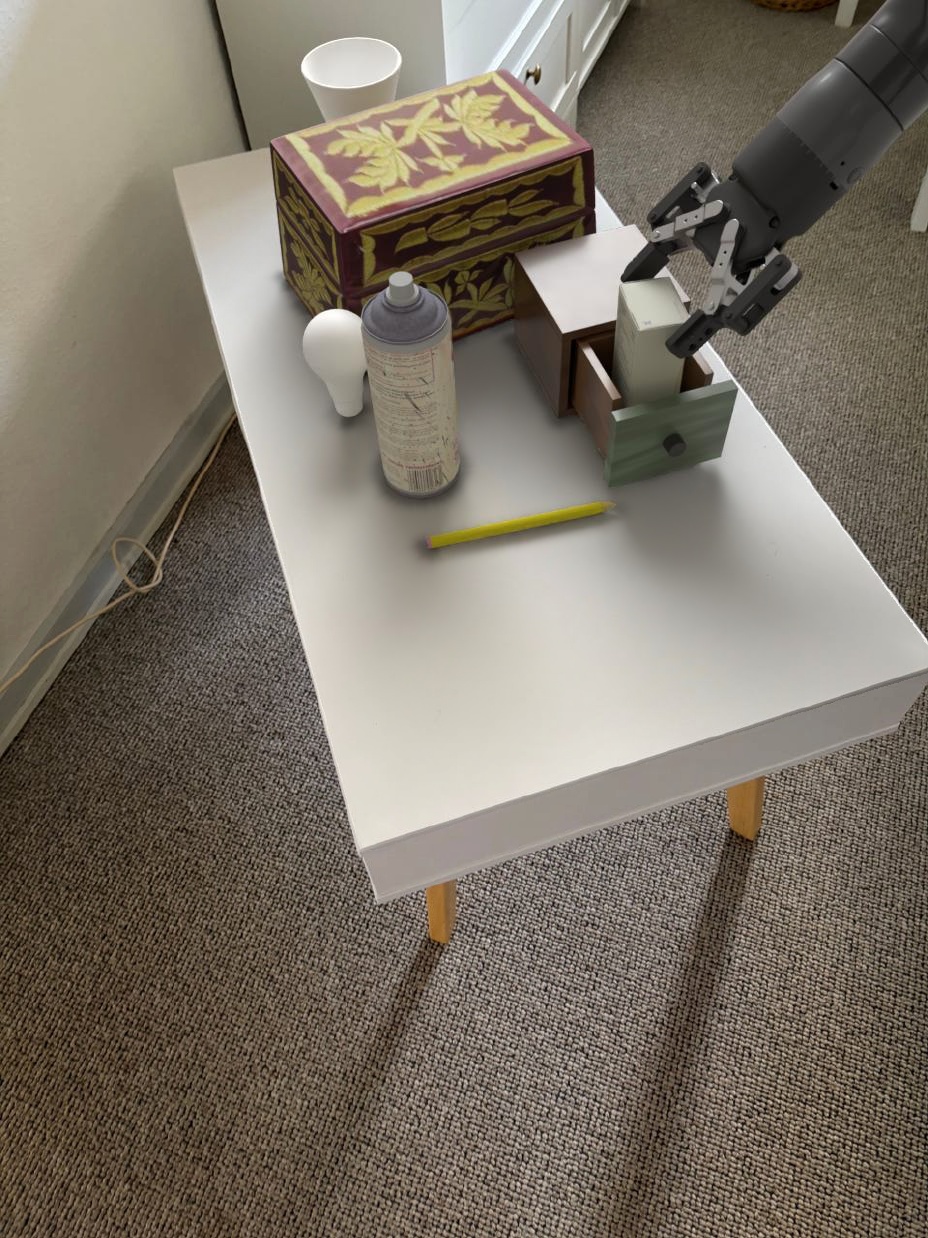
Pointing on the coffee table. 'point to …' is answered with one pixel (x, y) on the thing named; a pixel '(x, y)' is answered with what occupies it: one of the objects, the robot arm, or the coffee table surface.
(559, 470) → the coffee table surface
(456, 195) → the decorative box
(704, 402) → the drawer
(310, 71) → the cup
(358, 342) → the lightbulb
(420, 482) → the aerosol can
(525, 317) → the cabinet
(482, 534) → the pencil
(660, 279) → the cosmetic box
